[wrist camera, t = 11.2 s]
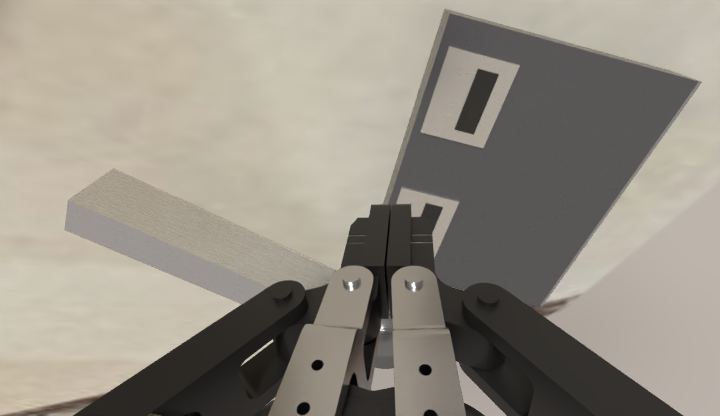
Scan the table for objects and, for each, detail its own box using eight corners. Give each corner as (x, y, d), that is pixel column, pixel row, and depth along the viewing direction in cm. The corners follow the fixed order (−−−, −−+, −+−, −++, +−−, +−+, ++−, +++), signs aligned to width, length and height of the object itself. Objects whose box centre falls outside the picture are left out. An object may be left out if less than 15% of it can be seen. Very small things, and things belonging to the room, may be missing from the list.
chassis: (676, 72, 23) (709, 84, 20) (533, 285, 32) (545, 310, 30) (444, 9, 22) (450, 13, 19) (369, 246, 32) (367, 269, 29)
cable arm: (418, 300, 29) (421, 347, 25) (393, 327, 30) (392, 374, 27) (116, 160, 24) (67, 192, 21) (108, 201, 26) (62, 237, 23)
